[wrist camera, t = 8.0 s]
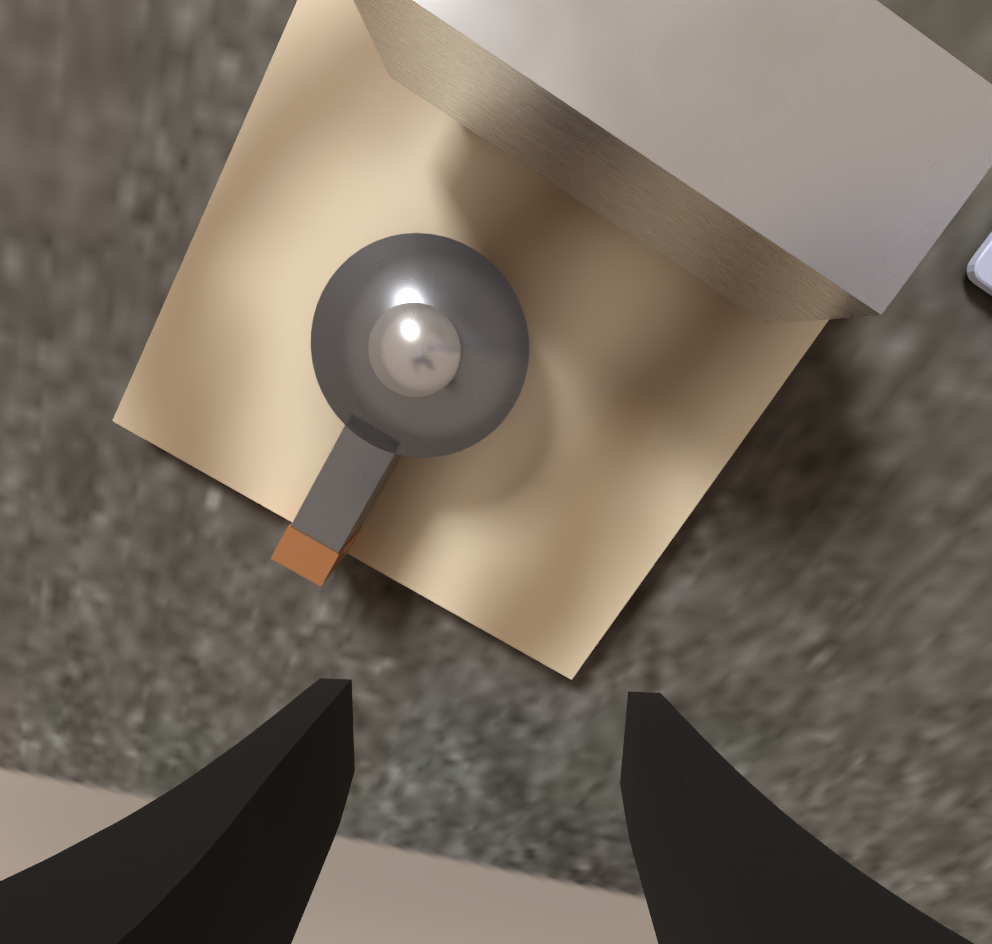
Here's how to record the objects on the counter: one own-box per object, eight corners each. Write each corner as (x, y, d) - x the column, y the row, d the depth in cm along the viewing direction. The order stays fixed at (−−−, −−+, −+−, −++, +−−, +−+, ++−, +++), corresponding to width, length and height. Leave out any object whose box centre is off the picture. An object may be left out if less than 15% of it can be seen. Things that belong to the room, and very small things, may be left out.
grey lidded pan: (394, 208, 17) (366, 177, 14) (563, 315, 17) (574, 308, 14) (245, 500, 19) (191, 530, 16) (399, 586, 20) (377, 633, 16)
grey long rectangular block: (860, 189, 15) (1030, 113, 10) (766, 324, 16) (880, 315, 11) (467, -83, 14) (441, -318, 9) (389, 76, 15) (326, -59, 10)
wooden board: (920, 163, 17) (1003, 126, 14) (568, 661, 21) (576, 711, 18) (410, -194, 16) (386, -317, 13) (136, 416, 20) (70, 428, 17)
